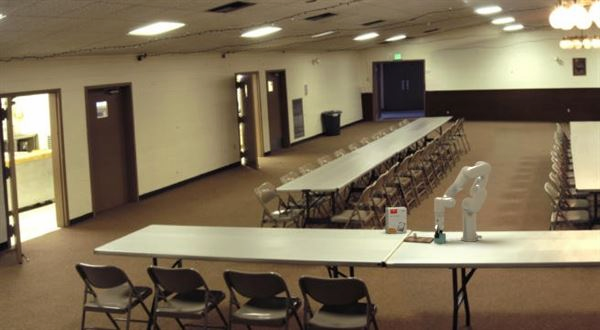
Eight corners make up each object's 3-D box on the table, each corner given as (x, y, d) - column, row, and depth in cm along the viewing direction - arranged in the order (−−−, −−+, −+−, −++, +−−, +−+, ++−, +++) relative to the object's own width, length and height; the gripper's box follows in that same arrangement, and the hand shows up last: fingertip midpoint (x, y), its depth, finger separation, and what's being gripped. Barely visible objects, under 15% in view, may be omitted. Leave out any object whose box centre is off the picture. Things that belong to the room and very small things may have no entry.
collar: (445, 241, 532) (445, 233, 531) (443, 243, 525) (443, 235, 525) (436, 240, 535) (436, 232, 534) (434, 242, 528) (434, 234, 528)
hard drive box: (387, 234, 563) (387, 209, 561) (385, 232, 571) (384, 207, 569) (407, 232, 565) (406, 208, 563) (404, 230, 573) (404, 206, 571)
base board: (434, 239, 539) (434, 232, 538) (429, 243, 526) (429, 236, 526) (408, 237, 547) (408, 230, 547) (403, 241, 535) (403, 234, 534)
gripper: (441, 216, 518) (440, 239, 520) (447, 212, 534) (446, 235, 536) (431, 215, 521) (430, 238, 523) (437, 211, 537) (436, 234, 539)
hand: (438, 236), depth 529 cm, fingers open, 9 cm apart
